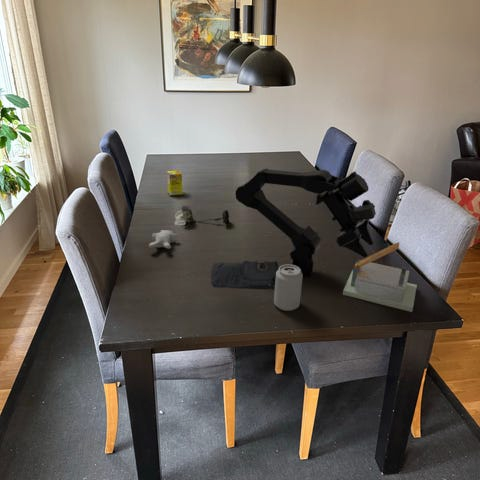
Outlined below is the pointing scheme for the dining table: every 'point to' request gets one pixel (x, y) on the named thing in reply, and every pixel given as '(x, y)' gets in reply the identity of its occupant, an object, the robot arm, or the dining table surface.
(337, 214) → the robot arm
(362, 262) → the strap
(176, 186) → the supplement box
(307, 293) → the dining table surface
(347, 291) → the board
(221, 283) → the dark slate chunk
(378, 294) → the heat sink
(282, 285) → the can
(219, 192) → the dining table surface
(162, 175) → the dining table surface
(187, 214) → the artificial flower
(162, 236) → the bunny figurine
